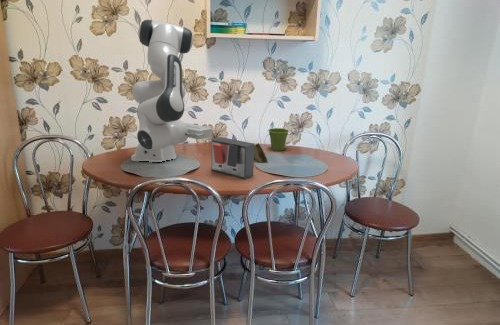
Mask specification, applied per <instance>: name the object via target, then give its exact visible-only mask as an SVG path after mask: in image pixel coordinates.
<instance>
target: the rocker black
mask: <svg viewBox="0 0 500 325" xmlns="http://www.w3.org/2000/svg"><path fill="white" fill-rule="evenodd" d="M238 147H239V146H234V145H229V153H228V162H227V165H228V166H232V167H236V163H237V155H238Z"/></svg>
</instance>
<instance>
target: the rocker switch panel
mask: <svg viewBox="0 0 500 325" xmlns="http://www.w3.org/2000/svg"><path fill="white" fill-rule="evenodd" d="M213 144H219V145H222V153H223V162H224V163H223V164H219V163H215V158H214V150H213ZM229 145H234V146H239V147H238V155H237V163H236V167H232V166H228V165H227V162H228V153H229ZM254 146H255V143H253V142H249V141H248V142H247V141H243V140H238V139H233V138H227V137H223V136H218V137H215V138H212V139H211V172H215V173H219V174H223V175H227V176H230V177H234V178H238V179H240V180H241V179H242V180H247V179H250V178H252V177H254V166H255V165H254V164H255V159H254Z"/></svg>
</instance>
